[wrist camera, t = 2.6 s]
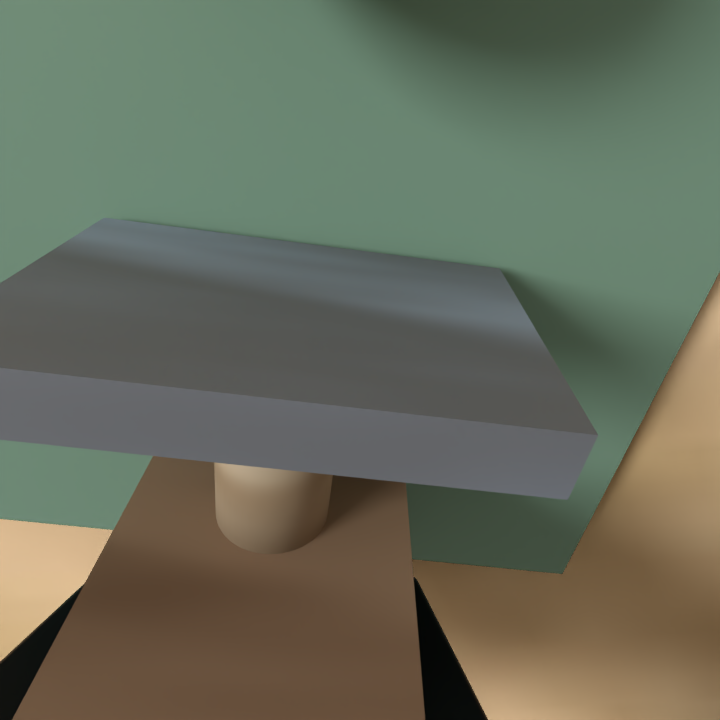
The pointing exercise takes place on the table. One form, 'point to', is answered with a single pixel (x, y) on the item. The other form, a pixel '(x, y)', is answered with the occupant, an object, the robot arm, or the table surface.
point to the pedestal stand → (268, 459)
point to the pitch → (388, 188)
